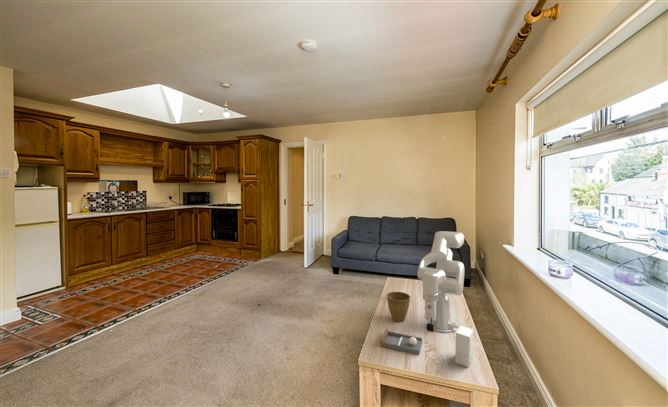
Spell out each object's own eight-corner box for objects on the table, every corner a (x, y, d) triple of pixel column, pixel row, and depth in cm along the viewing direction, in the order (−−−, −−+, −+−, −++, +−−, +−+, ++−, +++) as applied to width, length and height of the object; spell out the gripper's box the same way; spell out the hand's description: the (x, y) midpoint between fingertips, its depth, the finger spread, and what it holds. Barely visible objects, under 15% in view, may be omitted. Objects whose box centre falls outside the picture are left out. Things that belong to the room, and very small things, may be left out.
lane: (422, 341, 150) (422, 335, 150) (419, 355, 138) (419, 348, 138) (386, 334, 158) (386, 328, 158) (380, 346, 147) (380, 339, 146)
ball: (417, 343, 147) (417, 336, 147) (416, 347, 143) (416, 340, 143) (409, 341, 148) (409, 334, 148) (408, 345, 145) (408, 338, 145)
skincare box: (459, 354, 138) (459, 325, 137) (473, 359, 134) (473, 329, 133) (454, 363, 132) (454, 331, 131) (469, 368, 127) (469, 336, 127)
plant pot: (411, 326, 167) (411, 301, 166) (386, 324, 170) (386, 299, 169) (409, 315, 182) (409, 292, 181) (387, 313, 185) (386, 290, 184)
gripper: (437, 302, 132) (436, 339, 132) (439, 292, 146) (438, 325, 146) (421, 299, 135) (420, 336, 136) (424, 290, 149) (424, 323, 149)
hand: (430, 330), depth 141 cm, fingers closed
